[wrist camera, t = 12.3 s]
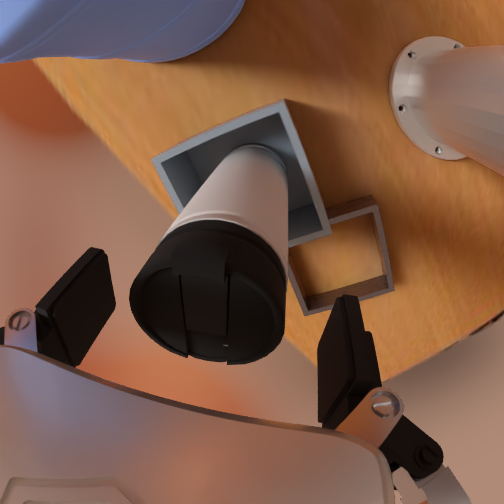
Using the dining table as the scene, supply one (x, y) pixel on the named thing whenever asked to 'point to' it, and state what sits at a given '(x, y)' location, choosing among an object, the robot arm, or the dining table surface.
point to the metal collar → (359, 289)
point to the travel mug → (222, 265)
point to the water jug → (112, 28)
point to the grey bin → (238, 133)
